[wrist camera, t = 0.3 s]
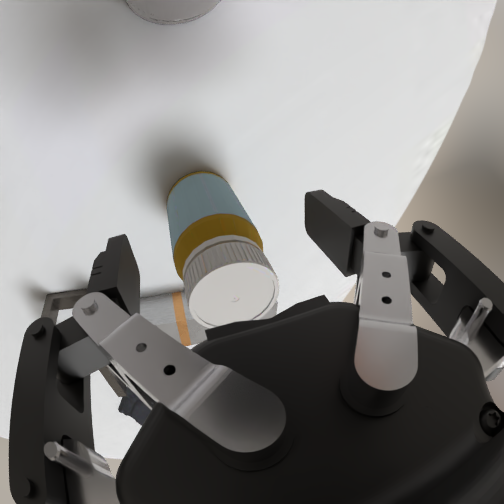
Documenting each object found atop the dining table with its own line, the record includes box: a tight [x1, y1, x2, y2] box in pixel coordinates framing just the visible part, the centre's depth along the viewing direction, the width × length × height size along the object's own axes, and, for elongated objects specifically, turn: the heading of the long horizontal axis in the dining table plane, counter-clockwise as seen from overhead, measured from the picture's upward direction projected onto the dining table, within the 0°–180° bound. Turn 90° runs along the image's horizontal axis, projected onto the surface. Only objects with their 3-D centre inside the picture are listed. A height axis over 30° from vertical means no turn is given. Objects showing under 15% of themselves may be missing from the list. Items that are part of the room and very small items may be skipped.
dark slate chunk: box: [118, 386, 151, 425], centre depth 49 cm, size 15×22×5 cm
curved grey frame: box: [41, 289, 127, 397], centre depth 31 cm, size 11×8×10 cm
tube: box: [140, 291, 278, 346], centre depth 37 cm, size 20×5×5 cm, turn 88°
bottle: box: [167, 171, 279, 328], centre depth 24 cm, size 7×7×15 cm
